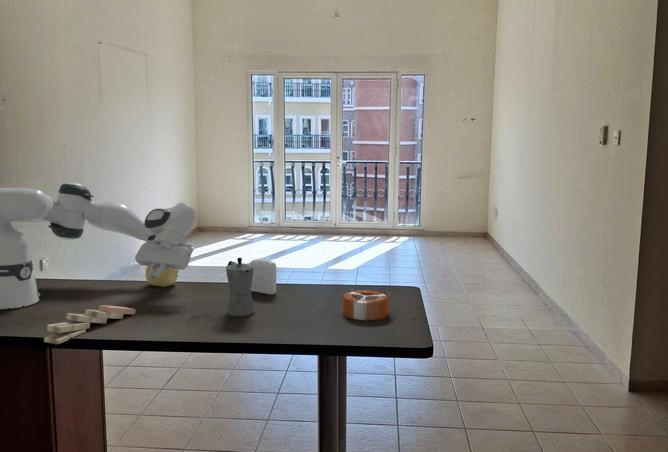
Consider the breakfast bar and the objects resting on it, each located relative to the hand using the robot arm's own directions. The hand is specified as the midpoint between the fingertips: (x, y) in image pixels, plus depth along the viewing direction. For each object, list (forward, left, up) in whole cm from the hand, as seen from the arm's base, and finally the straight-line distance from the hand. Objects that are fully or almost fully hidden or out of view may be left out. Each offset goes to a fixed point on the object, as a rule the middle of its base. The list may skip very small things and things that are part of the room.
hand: (153, 276), depth 195 cm
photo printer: (+28, +25, -9) cm, 39 cm away
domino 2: (0, -32, -9) cm, 34 cm away
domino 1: (-1, -30, -7) cm, 31 cm away
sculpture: (-11, +19, -9) cm, 24 cm away
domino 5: (+1, -13, -8) cm, 15 cm away
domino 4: (0, -18, -8) cm, 20 cm away
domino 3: (-1, -23, -8) cm, 25 cm away
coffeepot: (+32, +2, -9) cm, 33 cm away
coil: (+70, +16, -9) cm, 73 cm away
